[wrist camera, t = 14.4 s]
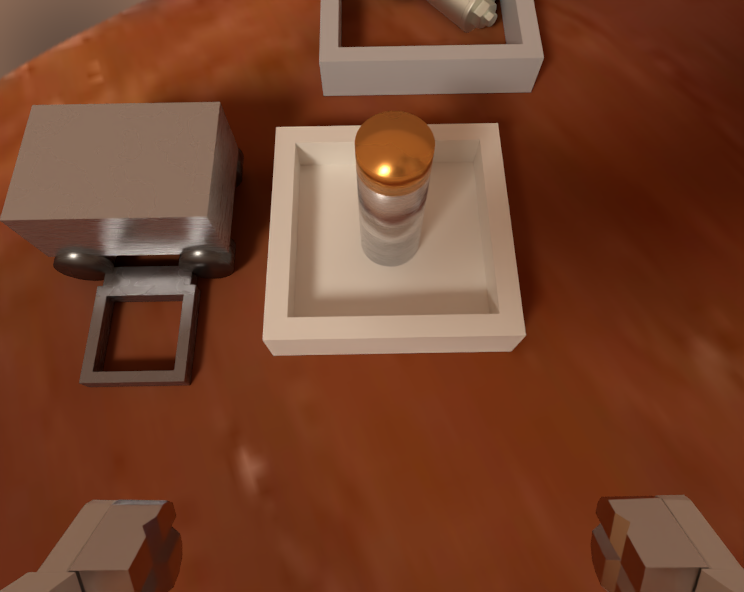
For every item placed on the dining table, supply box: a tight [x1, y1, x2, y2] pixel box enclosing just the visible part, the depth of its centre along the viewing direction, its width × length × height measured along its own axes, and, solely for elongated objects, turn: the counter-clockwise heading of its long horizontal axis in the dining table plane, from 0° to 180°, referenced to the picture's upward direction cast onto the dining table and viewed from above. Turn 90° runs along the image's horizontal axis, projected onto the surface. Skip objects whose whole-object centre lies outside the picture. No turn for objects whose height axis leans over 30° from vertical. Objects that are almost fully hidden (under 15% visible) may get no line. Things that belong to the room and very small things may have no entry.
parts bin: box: [319, 0, 544, 96], centre depth 37 cm, size 14×13×3 cm
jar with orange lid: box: [355, 111, 435, 267], centre depth 27 cm, size 4×4×9 cm
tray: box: [263, 123, 526, 356], centre depth 30 cm, size 13×13×3 cm
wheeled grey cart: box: [0, 102, 244, 387], centre depth 28 cm, size 10×14×6 cm
